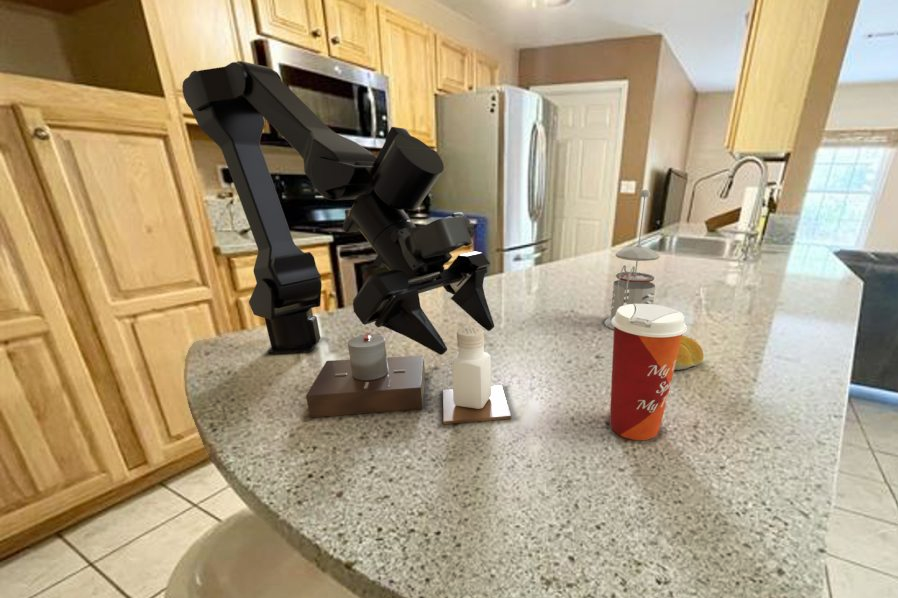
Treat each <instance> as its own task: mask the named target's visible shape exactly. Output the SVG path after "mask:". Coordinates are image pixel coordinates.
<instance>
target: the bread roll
mask: <svg viewBox="0 0 898 598" xmlns="http://www.w3.org/2000/svg"><path fill="white" fill-rule="evenodd" d="M703 360H704V351H703V348H702V346H701V345H700V344H699V343H698V342H697V341H696V340H694V339H693V338H692V337H689V336H687V335H682V338H681V343H680V347H679V351H678V355H677V359H676V364H675V368H674V371H676V370H677V371H681V370H685V369H689V368H691V367H696V366H698V365H700V364H702V362H703Z"/></svg>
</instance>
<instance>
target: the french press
mask: <svg viewBox="0 0 898 598" xmlns="http://www.w3.org/2000/svg"><path fill="white" fill-rule="evenodd" d="M638 196H639V197H641V198H643V202H642V212H641V220H640V228H639V236H638V244H636V245H631V246H627V247H623V248H621V249H620V250H618V251H617V252H616V253H615V257H616V258H618V259H621V260H626V261H634V262H635V261H636V262H635V266H634V265H633V266H632V267H631V268H630V271H627V266H626V265H625V264H624V265H623V266H622V268H621V270H620V272H618V273H616V275H615V277H616V278H617V280H614V282H613V283H612V284H613V286H612V289H613V290H612V296H611V304H610V308H611V309H610V316H609V317H608V318H606V320H605V321H604V325H605V326H606V327H607V328H609V329H611V330H614V326H613V324H612V322H611V320H612V319H613V317H614V316H615V315H616V311H617V309H618V308H619V307H621V306H623V305H625V303H626V305H628V304H653V305H654V303H653V302H654V295H655V293H656V292H655V291H656V284H655V283H654V280H655V276H654V275H653V274H650V273H646V272H637V270H638V262H649V261H656V260H658V259H659V258H660V257H661V255H660V254H659V253H658V252H656V250H653V249H651V248H649V247H648V246H643V245H641V236H642V229H643V228H642V227H643V220H644V219H643V218H644V210H645V204H646V203H645V202H646V198H650V197H651V192H650V191H649V190H648V189H643V190H641V191H639V195H638ZM623 270H624V271H623ZM649 295H651V296H649Z"/></svg>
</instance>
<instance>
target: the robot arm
mask: <svg viewBox="0 0 898 598" xmlns="http://www.w3.org/2000/svg"><path fill="white" fill-rule="evenodd" d="M181 90H182V95H183V99H184V101H185V103H186V105H187V106H188V108H190V110H191V113H192V115H193V117H194V119H195V121H196V123H197V125H198V127H199V129H200V130H201V131H202V132H203V133H204V134H206V135H207V137H209V139H211V140H212V141H213V142H214V143H215V144H216V145H217V146H218V147H219V148H220V150H221V153H222V155H223V158H224V160H225V163H226V166H227V169H228V172H229V174H230V177H231V178H232V182H233V185H234V187H235V190H236V193H237V196H238V198H239V201H240V204H241V206H242V210H243V212H244V215H245V218H246V220H247V222H248V225H249V228H250V231H251V234H252V236H253V239H254V242H255V245H256V247H257V255H256V258H255V262H254V266H253V275H254V279H255V282H256V284H255V286H254V289H253V291H252V293H251V295H250V297H249V300H248V304H249V308H250V310H251V312H252V314H253V315H254V316H256V317H260V318H263V319H264V322H265V326H266V330H267V335H268V340H269V343H270V347H269V348H268V349H267V351H266V352H267V354H269V355H272V354H273V355H274V354H275V355H276V354H291V353H292V354H293V353H294V354H295V353H309V352H312V351H313V350H314V348H315V347H316V345H317V344H318V343H319V341H320V340H321V333H320V328H319V327H320V326H319V323H318V317H317V315H314V314H313V309H314V308H319V307H321V300H322V287H323V284H322V283H323V282H322V279H321V278H322V275H321V274H320V272H319V270H318V267H317V263H316V260H315V256H314V255H313V253H311V252H310V251H307V252H304V251H303V250H302V249H301V248H300V247H298V245H296V244H295V242H294V240H293V237H292V233H291V230H290V228H289V225H288V222H287V218H286V216H285V213H284V210H283V207H282V204H281V201H280V199H279V195H278V192H277V190H276V187H275V184H274V181H273V178H272V176H271V173H270V169H269V166H268V163H267V161H266V158H265V155H264V152H263V149H262V146H261V139H262V136H263V135H262V134H263V131H264V127H265V123H266V122H265V120H266V121H267V122H268V123H269V124H270V125H271V126H272V127H273V128H274V129H275V131H277V133H278V134H280V136H281V137H282V138H284V140H285V141H286V142H288V144H289V145H290V146H291V147H292V148H293V149H294V150H295V151H296V152H297V153H298V155H299V156H300V157H301V159H302V160H303V171H304V173H305V175H306V176H307V178H308V179H309V181H310V182H311V183H312V185H313V186H314V187H315V189H316V190H317V191H318V193H319V194H320V195H321V196H322V197H323V198H325V199H326V200H329V201H350V200H354V201H353V203H352V206H351V208H350V209H345V210H344V215H345V217H344V221H343V231H344V233H346V234H348V233H356V232H360V233H361V234H362V235H363V237H364V238H365V239H366V241H367V242H368V244H369V245H370V246H371V248H372V249H373V250H374V252H375V253H376V254H377V255H376V257H375V258H374V260H373V262H374V265H376V267H377V268H379V269H380V268H384V267H386V268H387V271H383V272H378V273H374V274H369V276H368V277H367V279H366V280H365V282H364V283H363V285H362V286H361V288H360V289H359V291H358V292H357V293H356V295H355V297H354V298H353V299H352V309H353V313H354V314H355V315H356V317H357V318H358V320H359V321H360V322H361V324H362V325H364V326H366V325H369V324H371V323H374V325H375V326H376V327H377V328H381V327H383V328H386V329H388V330H391V331H393V332H395V333H398V334H400V335H402V336H404V337H406V338H408V339H410V340H412V341H414V342H416V343H418V344H419V345H422V346H423V347H425V348H427V349H429V350H430V351H432V352H434V353H436V354H438V355H439V356H442V355H444V354H446V353H447V351H448V347H447V345H446V343H445V342H444V340H443V338H442V336H441V335H440V333H439V332H438V330H437V329H436V328H435V326H434V324H433V323H432V322H431V321H430V319H429V316H427V314H426V313H425V311H424V310H423V308H422V306H421V301H420V294H423V293H426V292H429V291H432V290H435V289H439V288H441V287H442V288H444V290H445V291H446V292H447V293H449V294H451V295H452V296H451V297H450V299H451V301H453V302H454V303H455V304H456V305H457V306H458V307H460V309H462V310H463V311H464V312H465V313H466V314H467V315H468V316H469V317H471V318H472V319H473V320H474V321H475V322H476V323H477V324H479V325H480V326H481V327H482V328H484V329H485V330H486V331H487V332H490V331H492V330H493V329H494V328H495V323H494V320H493V317H492V313H491V311H490V308H489V305H488V301H487V297H486V295H485V289H484V279H485V277H486V276H487V275H488V269H489V267H490V266H491V262H490V261H489V260H488V258H487V257H486V256H485V254H484V253H483V252H481V251H470V252H467V253H461V254H459V255H457V256H456V258H455V259H454V260H453V262H452V263H450V265H449V266H448V267H447V268H445V266H444V265H445V264H447V263H449V262H450V261H451V259H452V258H453V255H452V254H451V252H454V251H455V250H458V249H460V248H462V247H463V246H464V247H468V246H471V245H472V244H473V241H472V238H473V237H474V236H475V224H474V223H473V222H471V220H470V219H469V218H468V217H467V216H466V215H465V213H463V212H462V211H461V212H453V213H451V216H446V217H442V218H438V219H435V220H433V221H430V222H429V223H427V224H426V225H420V226H416V224H415V223H414V222H413V221H412V220H411V218H410V217H409V215H408V214H407V213H406V211H405V210H410V211H413V210H417V209H418V208H419V207H420V205H421V204H422V203H423V201H424V199H425V198H426V197H427V196H428V194H429V192H431V189H432V188H433V186H434V185H435V183H436V182H437V180H438V179H439V178H440V176H441V174H443V172H444V169H445V165H444V162H443V160H442V158H441V156H440V155H439V153H438V152H437V151H436V149H433V148H431V147H430V146H429V145H427V143H425V142H424V141H422V140H420V139H419V138H417V137H415V136H413V135H411V134H410V132H409V131H408V129H407V128H403V127H396V126H391V127H390V129H389V131H388V133H387V134H386V137H385V141H384V143H383V145H382V147H381V149H380V151H379V153H378V154H377V156H376V155H374V154H373V153H372V152H371V151H369V150H368V149H366V148H365V147H364V146H362V145H360V144H359V143H358V142H356V141H354V140H352V139H349V138H347V137H345V136H342V135H340V134H338V133H336V132H335V131H334V130H332V129H331V128H330V127H329V126H328V125H327V124H326V123H325V122H324V121H323V120H321V118H320V117H319V116H318V115H316V113H314V111H313V110H312V109H310V107H309V106H308V105H306V104H305V102H304V101H302V99H301V98H300V97H299V96H297V95H296V93H294V91H292V90H291V89H290V87H288V86H287V85H286V84H285V83H284V81H283V80H282V77H281V75H280V74H279V72H277V71H276V70H274V69H272V68H271V67H269V66H266V65H261V64H257V63H251V62H248V61H242V60H237V61H232V62H230V63H229V64H227V65H225V66H219V67H213V68H207V69H201V70H200V69H199V70H193V71H191V72H190V73H189V75H188V77H186V78H185V79H183V81H182V89H181Z"/></svg>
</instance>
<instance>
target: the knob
mask: <svg viewBox="0 0 898 598" xmlns="http://www.w3.org/2000/svg"><path fill="white" fill-rule="evenodd" d="M346 343H347V349H348V350H347V351H348V355H349V360H350V363H351V369H352V375H353V377H354V378H355V379H358V380H374V379H378V378H381V377H383V376H385V375H386V374H387V373H388V363H387V357H388V356H387V347H386V339H385V337H384V336H382V335H380V334H372V333H371V332H365V334H363V335H357V336H354V337H351V338H350V339H349V340H348V341H347V342H346Z"/></svg>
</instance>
